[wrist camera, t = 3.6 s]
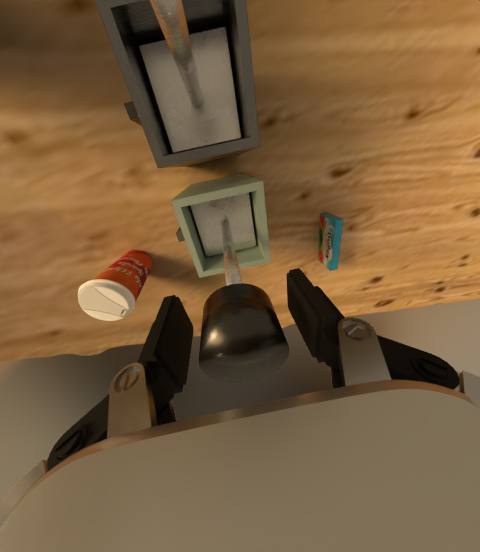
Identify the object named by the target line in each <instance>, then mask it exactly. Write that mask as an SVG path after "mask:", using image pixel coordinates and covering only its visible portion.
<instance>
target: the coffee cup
mask: <svg viewBox="0 0 480 552" xmlns="http://www.w3.org/2000/svg"><path fill="white" fill-rule="evenodd" d="M151 268H152V260H151V258H150V257H149V256H148V255H147V254H146V253H144V252H142V251H138V250H133V251H130V252H128V253H126V254H125V255H124V256H122V257H121V258H120V259H118V260H117V261H116V262H115V263H113V264H112V265H111V266H110V267H108V268H107V269H106V270H105V271H103V272H102V273H101V274H100V275H98V276H97V277H96V278H95V279H93V280H91V281H88V282H86V283H84V284H82V285H81V286H80V288H79V291H78V298H79V299H78V301H79V304H80V306H81V308H82V309H83V311H85V312H86V313H87V314H89V315H90V316H92V317H94V318H97V319H100V320H106V321H115V320H119V319H122V318H124V317H125V316H126V315H128V314H130V313H131V312H132V311H133V310H134V308H135V302H136V300H137V298H138V296H139V294H140V292H141V289H142V287H143V285H144V283H145V281H146V279H147V277H148V275H149V273H150V270H151Z"/></svg>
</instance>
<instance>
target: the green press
mask: <svg viewBox="0 0 480 552" xmlns="http://www.w3.org/2000/svg"><path fill="white" fill-rule="evenodd" d="M248 192H249V198H250V205H251V212H252V220H253V227H254V234H255V241H256V246H254V247H250V248H245V249H240V250H236V256H237V260H238V265H239V269H243V268H248V267H253V266H257V265H262V264H266V263H271V258H270V248H269V237H268V227H267V216H266V206H265V195H264V185H263V181H262V180H259V179H257V178H254V177H251V176H248V175H245V174H243V173H242V174H237V175H233V176H228V177H223V178H219V179H214V180H210V181H205V182H201V183H196V184H191V185H190V186H189V187H188V188H186V189H185V190H184V191H182V192H181V193H180V194H179V195H177V196H176V197H175V198H174V199H172V200H171V204H172V206H173V209H174V212H175V214H176V217H177V220H178V222H179V225H180V227H179V229H178V231H177V233H176V235H177V238H178V240H179V242H180V241H186V244H187V246H188V249H189V252H190V254H191V257H192V260H193V262H194V265H195V268H196V270H197V273H198V276H199V278H202V277H206V276H211V275H215V274H220V273H225V267H224V254H223V253H222V254H217V255H213V256H208V257H207V256H206V253H205V250H204V247H203V244H202V240H201V237H200V234H199V231H198V228H197V225H196V222H195V219H194V216H193V212H192V209H191V206H190V205H193V204H198V203H202V202H207V201H211V200H216V199H221V198H225V197H230V196H234V195H239V194H244V193H248Z"/></svg>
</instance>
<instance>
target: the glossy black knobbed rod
mask: <svg viewBox="0 0 480 552" xmlns="http://www.w3.org/2000/svg"><path fill="white" fill-rule="evenodd" d="M190 206H191V209H192V212H193V216H194V219H195V222H196V225H197V228H198V231H199V234H200V237H201V240H202V244H203V247H204V250H205V253H206V256H207V257H208V256H213V255H217V254H222V253H223V254H224V267H225V281H226V286H224V287H222V288H220V289H218V290H216V291H215V292H214V293H212V294H211V295H210V296H209V298H208V299H207V301H206V302H205V305H204V309H203V320H202V331H201V343H200V353H199V365H200V367H201V369H202V370H203V372H204V373H205V374H207V375H208V376H209V377H211V378H213V379H215V380H219V381H222V382H229V383H242V382H250V381H254V380H257V379H261V378H263V377H266V376H268V375H270V374H272V373H273V372H275V371H276V370H278V369H279V368H280V367H281V366H282V365H283V364H284V363H285V361H286V359H287V358H288V355H289V346H288V343H287V341H286V338H285V336H284V333H283V331H282V328H281V326H280V323H279V321H278V318H277V316H276V313H275V310H274V308H273V305H272V303H271V300H270V298H269V296H268V295H267V294H266V292H264V291H263V290H262V289H260V288H259V287H256V286H254V285H251V284H243V283H242V279H241V274H240V270H239V265H238V260H237V256H236V250H240V249H245V248H250V247H254V246H256V241H255V234H254V227H253V220H252V212H251V205H250V198H249V192H248V193H244V194H239V195H234V196H230V197H225V198H221V199H216V200H211V201H207V202H202V203H198V204H193V205H190Z"/></svg>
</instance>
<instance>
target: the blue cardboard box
mask: <svg viewBox="0 0 480 552" xmlns="http://www.w3.org/2000/svg"><path fill="white" fill-rule="evenodd" d="M342 225H343V220H342V219H341V218H339V217H337V216H334V215H332V214H330V213H324V214H321V215H320V231H319V253H318V259H319V261H320V262H321V263H322V264H323V265H325V266H326V267H327V268H328V269H329V270H330V271H331V270H336V269H337V268H338V259H339V250H340V242H341V234H342Z"/></svg>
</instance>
